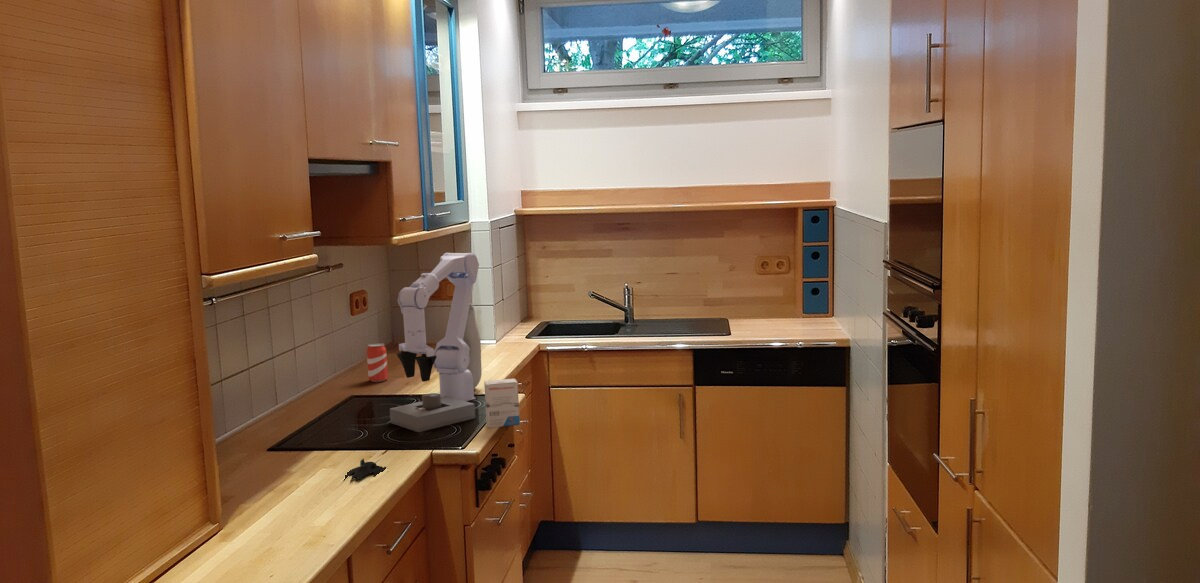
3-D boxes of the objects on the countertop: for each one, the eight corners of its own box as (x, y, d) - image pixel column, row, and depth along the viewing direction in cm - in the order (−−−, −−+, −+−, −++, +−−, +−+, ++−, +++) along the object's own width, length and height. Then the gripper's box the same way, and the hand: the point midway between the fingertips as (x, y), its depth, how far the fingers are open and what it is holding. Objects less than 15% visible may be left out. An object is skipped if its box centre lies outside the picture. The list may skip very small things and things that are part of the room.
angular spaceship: (397, 468, 211) (397, 456, 210) (373, 492, 196) (372, 479, 195) (351, 467, 212) (350, 455, 212) (323, 491, 197) (322, 478, 197)
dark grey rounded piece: (435, 413, 252) (434, 392, 251) (445, 416, 248) (444, 395, 248) (414, 418, 248) (413, 396, 247) (424, 421, 244) (422, 399, 244)
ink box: (518, 420, 246) (516, 377, 244) (520, 425, 241) (518, 381, 240) (485, 423, 244) (483, 380, 243) (487, 428, 239) (485, 384, 238)
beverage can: (365, 380, 302) (363, 344, 300) (383, 377, 305) (381, 342, 304) (373, 383, 297) (370, 347, 295) (391, 380, 301) (389, 344, 299)
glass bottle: (443, 389, 285) (438, 300, 281) (472, 384, 291) (467, 297, 287) (459, 395, 277) (454, 303, 273) (488, 389, 283) (484, 299, 280)
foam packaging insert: (446, 409, 260) (445, 395, 260) (475, 418, 250) (474, 403, 249) (390, 422, 248) (389, 408, 247) (418, 432, 238) (417, 417, 237)
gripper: (388, 330, 254) (391, 378, 256) (417, 335, 244) (420, 385, 246) (409, 326, 259) (413, 373, 261) (439, 331, 249) (442, 380, 251)
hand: (418, 379), depth 254 cm, fingers open, 7 cm apart
